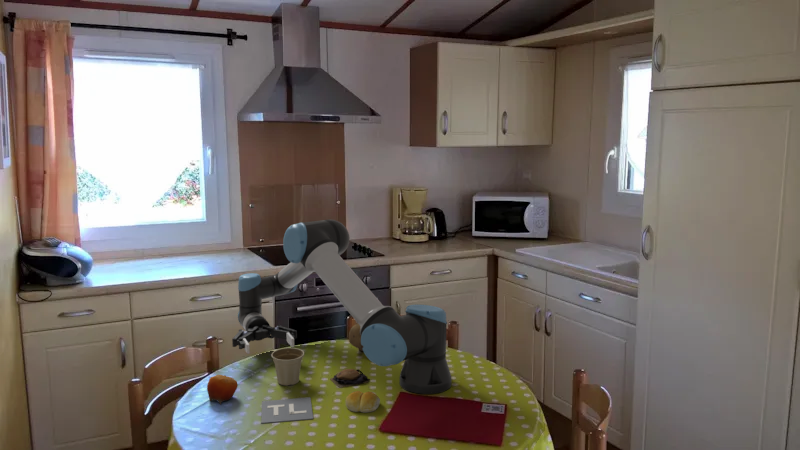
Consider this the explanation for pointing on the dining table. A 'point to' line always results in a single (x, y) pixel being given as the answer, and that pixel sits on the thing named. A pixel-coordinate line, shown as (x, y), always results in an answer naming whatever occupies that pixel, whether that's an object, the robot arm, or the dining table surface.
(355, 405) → the bread roll
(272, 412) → the tile
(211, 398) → the fruit
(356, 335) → the potato
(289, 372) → the flower pot
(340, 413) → the dining table surface
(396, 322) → the robot arm
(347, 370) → the abalone
